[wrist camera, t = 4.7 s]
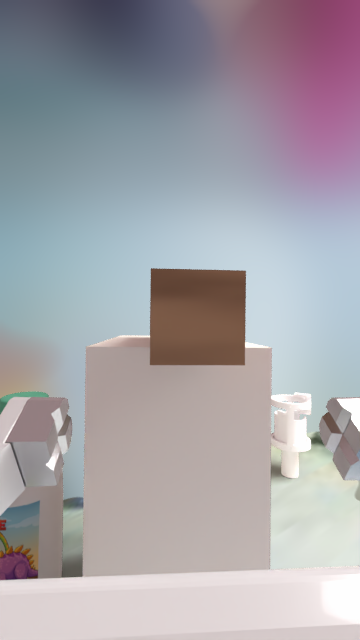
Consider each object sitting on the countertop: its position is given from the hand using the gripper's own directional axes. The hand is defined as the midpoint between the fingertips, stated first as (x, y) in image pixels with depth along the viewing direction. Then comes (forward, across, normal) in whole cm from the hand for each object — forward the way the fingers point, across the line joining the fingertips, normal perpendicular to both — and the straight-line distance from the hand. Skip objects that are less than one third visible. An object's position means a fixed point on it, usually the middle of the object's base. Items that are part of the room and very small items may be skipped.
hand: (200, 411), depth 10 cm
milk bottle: (+7, +15, +33) cm, 37 cm away
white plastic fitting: (+27, -23, +44) cm, 57 cm away
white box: (+4, 0, +31) cm, 31 cm away
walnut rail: (+12, 0, +5) cm, 13 cm away
